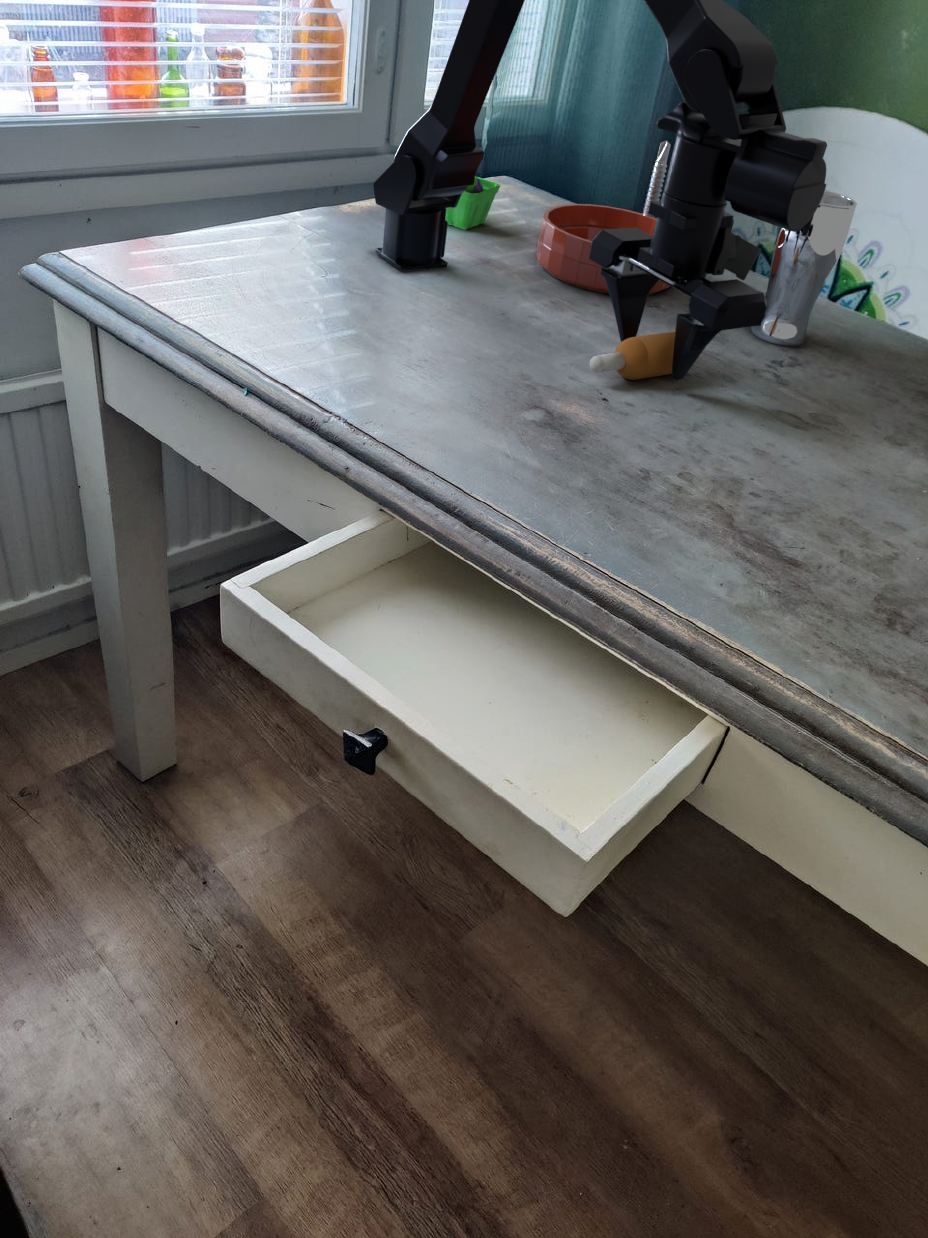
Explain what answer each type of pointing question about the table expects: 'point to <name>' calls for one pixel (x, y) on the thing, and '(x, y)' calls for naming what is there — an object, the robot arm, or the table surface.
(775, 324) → the beer glass
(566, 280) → the shallow orange pet bowl
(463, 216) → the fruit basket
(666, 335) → the drumstick
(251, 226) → the table surface
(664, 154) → the screw
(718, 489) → the table surface
